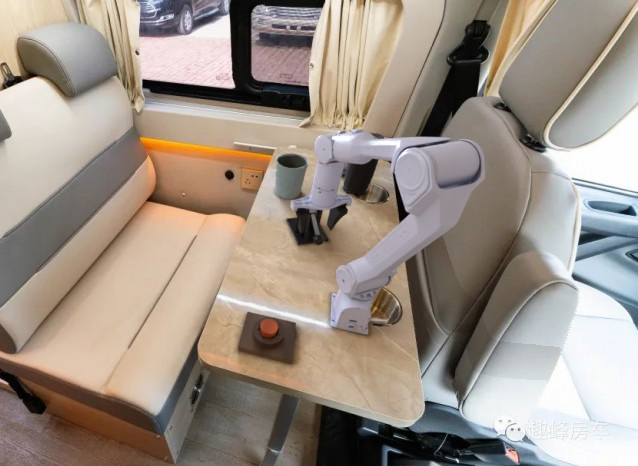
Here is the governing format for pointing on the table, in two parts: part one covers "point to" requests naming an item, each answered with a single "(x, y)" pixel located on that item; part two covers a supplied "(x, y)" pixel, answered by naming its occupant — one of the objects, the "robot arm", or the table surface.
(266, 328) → the button
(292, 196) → the green cup
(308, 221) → the bracket
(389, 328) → the table surface
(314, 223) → the lever
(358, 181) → the portable speaker
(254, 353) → the button block
